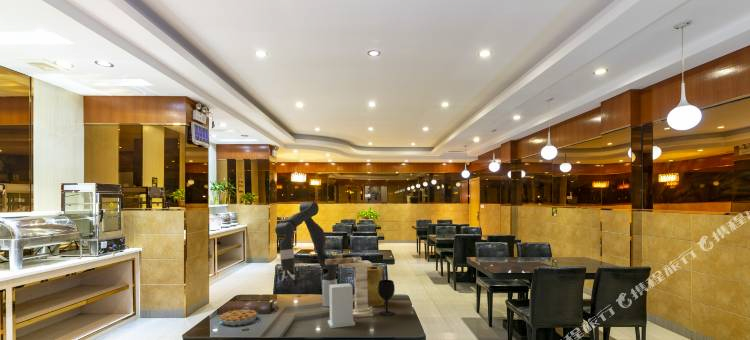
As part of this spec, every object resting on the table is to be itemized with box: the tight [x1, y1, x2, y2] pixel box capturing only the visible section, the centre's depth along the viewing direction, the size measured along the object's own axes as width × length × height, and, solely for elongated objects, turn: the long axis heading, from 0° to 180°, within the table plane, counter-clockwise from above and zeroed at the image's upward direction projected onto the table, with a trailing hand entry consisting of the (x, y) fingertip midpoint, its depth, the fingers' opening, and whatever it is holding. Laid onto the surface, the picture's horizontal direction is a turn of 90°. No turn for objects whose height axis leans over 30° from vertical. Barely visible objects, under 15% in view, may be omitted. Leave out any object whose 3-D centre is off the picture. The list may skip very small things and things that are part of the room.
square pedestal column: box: [339, 259, 374, 319], centre depth 258 cm, size 12×18×32 cm, turn 107°
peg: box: [325, 256, 363, 265], centre depth 256 cm, size 22×6×3 cm, turn 107°
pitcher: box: [367, 265, 385, 307], centre depth 282 cm, size 17×19×25 cm
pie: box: [219, 308, 259, 327], centre depth 249 cm, size 22×22×5 cm
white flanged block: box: [327, 282, 356, 329], centre depth 239 cm, size 10×14×22 cm
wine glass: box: [378, 279, 396, 317], centre depth 258 cm, size 10×10×20 cm
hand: (290, 287), depth 232 cm, fingers open, 8 cm apart
